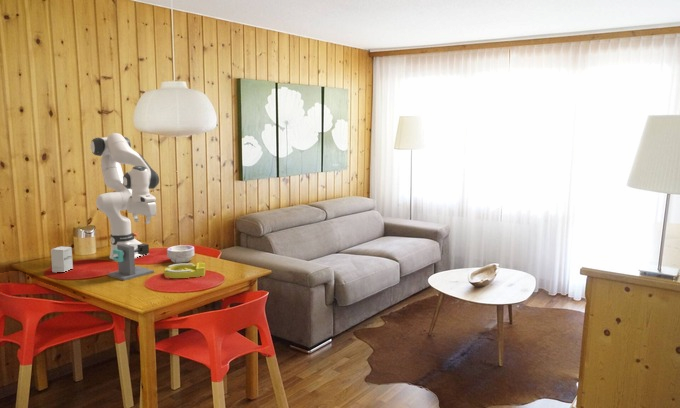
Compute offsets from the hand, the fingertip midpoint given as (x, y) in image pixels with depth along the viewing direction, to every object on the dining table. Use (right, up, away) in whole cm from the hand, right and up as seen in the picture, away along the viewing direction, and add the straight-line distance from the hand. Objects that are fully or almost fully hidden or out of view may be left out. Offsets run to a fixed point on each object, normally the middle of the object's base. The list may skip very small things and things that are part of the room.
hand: (142, 222), depth 286 cm
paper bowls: (+14, -23, +25) cm, 37 cm away
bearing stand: (-5, -27, -2) cm, 28 cm away
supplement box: (-43, -26, +2) cm, 51 cm away
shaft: (-5, -18, -4) cm, 19 cm away
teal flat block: (-9, -19, -9) cm, 23 cm away
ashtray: (+23, -28, -1) cm, 36 cm away
